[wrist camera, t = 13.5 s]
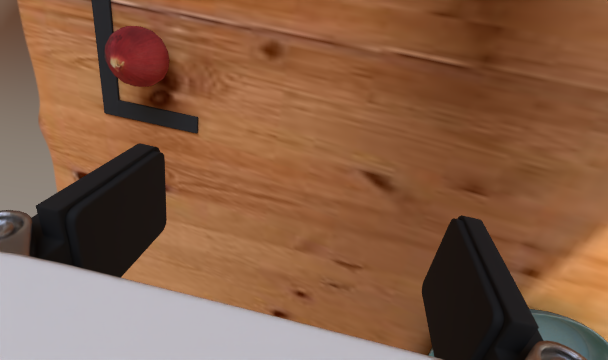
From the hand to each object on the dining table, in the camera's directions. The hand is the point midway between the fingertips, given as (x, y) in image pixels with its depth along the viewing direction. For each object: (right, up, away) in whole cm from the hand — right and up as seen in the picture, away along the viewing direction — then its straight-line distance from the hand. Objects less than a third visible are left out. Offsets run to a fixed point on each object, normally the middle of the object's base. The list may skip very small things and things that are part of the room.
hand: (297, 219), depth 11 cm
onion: (-16, +16, +27) cm, 35 cm away
